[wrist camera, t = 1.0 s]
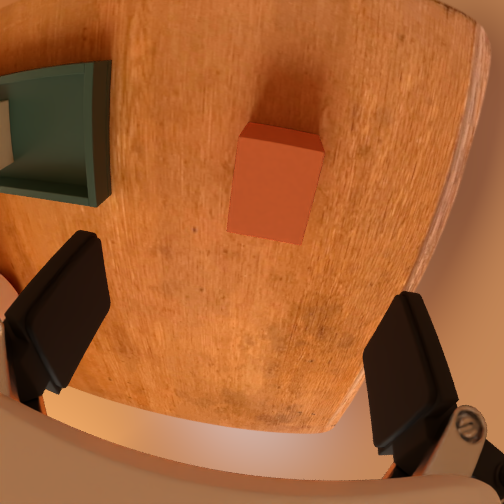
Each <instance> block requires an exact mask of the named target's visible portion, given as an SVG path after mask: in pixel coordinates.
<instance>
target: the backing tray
mask: <svg viewBox="0 0 504 504" xmlns="http://www.w3.org/2000/svg"><path fill="white" fill-rule="evenodd" d="M111 63H112V60H104V61H91V62H80V63H71V64H63V65H56V66H49V67H42V68H37V69H31V70H26V71H20V72H16V73H11V74H6V75H2V76H0V101H2V100H9V120H10V133H11V143H12V152H13V160H14V162H13V163H11V164H10V165H8V166H6V167H5V168H3V169H1V170H0V193H6V194H13V195H20V196H27V197H33V198H40V199H46V200H53V201H59V202H66V203H72V204H78V205H85V206H90V207H98V206H99V205H100V204H101V203H102V202H103V201H105V200H106V199H107V198H108V197H109V196H110V195H111V179H110V154H109V103H110V78H111Z"/></svg>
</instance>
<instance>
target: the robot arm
mask: <svg viewBox="0 0 504 504" xmlns="http://www.w3.org/2000/svg"><path fill="white" fill-rule="evenodd" d="M110 303H111V302H110V296H109V290H108V284H107V278H106V272H105V266H104V259H103V252H102V244H101V240H100V239H99V238H97V235H96V234H95V233H93V232H88V231H83V230H78V231H77V232H76V233H75V234H74V235H73V236H72V237H71V238H70V239H69V240H68V241H67V242H66V243H65V244H64V245H63V246H62V247H61V248H60V249H59V250H58V251H57V252H56V254H55V255H54V256H53V257H52V258H51V259H50V260H49V261H48V262H47V263H46V264H45V266H44V267H43V268H42V269H41V270H40V271H39V272H38V273H37V275H36V276H35V277H34V278H33V279H32V280H31V282H30V283H29V284H28V285H27V286H26V287H25V289H24V290H23V291H22V292H21V293H20V295H19V296H18V297H17V298H16V300H15V301H14V302H13V303H12V305H11V306H10V307H9V308H8V310H7V311H6V312H5V313H4V315H5V317H6V318H5V319H4V321H3V322H2V321H1V319H0V504H504V454H503V453H502V452H501V451H500V450H498V449H497V448H496V447H495V446H494V445H493V444H491V443H490V442H489V441H488V440H486V436H487V424H486V422H485V419H484V417H483V416H482V414H481V413H480V412H479V411H478V410H477V409H476V408H474V407H472V406H469V405H462V406H460V407H458V408H457V404H456V402H457V401H458V400H459V399H458V395H457V392H456V389H455V386H454V382H453V380H452V377H451V373H450V370H449V367H448V364H447V361H446V359H445V356H444V353H443V350H442V347H441V345H440V342H439V339H438V336H437V334H436V331H435V329H434V326H433V324H432V321H431V318H430V316H429V314H428V311H427V309H426V306H425V304H424V302H423V299H422V297H421V295H420V294H418V293H413V292H407V291H403V292H401V293H400V295H396V296H395V297H394V299H393V301H392V303H391V304H390V306H389V308H388V310H387V312H386V313H385V315H384V317H383V319H382V320H381V322H380V324H379V326H378V327H377V329H376V331H375V332H374V334H373V336H372V337H371V339H370V341H369V342H368V344H367V346H366V347H365V349H364V352H363V364H364V371H365V377H366V384H367V391H368V399H369V407H370V415H371V424H372V433H373V442H374V445H375V447H378V454H379V455H393V458H394V462H393V464H392V465H391V466H390V468H389V469H388V471H387V472H386V474H385V475H384V476H383V478H382V479H377V480H351V481H350V480H349V481H321V480H297V479H282V478H271V477H262V476H253V475H245V474H238V473H232V472H225V471H219V470H213V469H208V468H203V467H198V466H193V465H189V464H185V463H181V462H176V461H172V460H168V459H165V458H161V457H157V456H153V455H150V454H146V453H143V452H140V451H136V450H133V449H130V448H127V447H124V446H121V445H118V444H115V443H112V442H109V441H106V440H103V439H101V438H98V437H96V436H93V435H91V434H88V433H86V432H83V431H81V430H78V429H76V428H73V427H71V426H68V425H66V424H64V423H62V422H60V421H57V420H55V419H53V418H51V417H49V416H47V413H46V409H45V405H44V401H43V396H42V394H43V392H44V390H45V389H47V390H49V391H51V392H53V393H56V394H59V393H60V391H61V389H62V388H66V387H67V386H68V384H69V382H70V380H71V378H72V376H73V374H74V372H75V370H76V369H77V367H78V365H79V363H80V361H81V359H82V357H83V355H84V354H85V352H86V350H87V348H88V346H89V344H90V343H91V341H92V339H93V337H94V336H95V334H96V332H97V330H98V328H99V327H100V325H101V323H102V321H103V320H104V318H105V316H106V315H107V313H108V311H109V309H110Z"/></svg>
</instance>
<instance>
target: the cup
mask: <svg viewBox="0 0 504 504" xmlns="http://www.w3.org/2000/svg"><path fill="white" fill-rule="evenodd" d="M18 296H19V295H18V293H17V292H16V290H15V289H14V288H13V286H12V285H11V284H10V283H9V281H7V280H6V279H5V278H4V277H3V276H2V275H1V274H0V319H1V321H2V322H3V321H4V319H5V318H6V317H5V315H4V313H5V312H6V311H7V310H8V308H9V307H10V306H11V305H12V303H13V302H14V301H15V300H16V298H17V297H18Z"/></svg>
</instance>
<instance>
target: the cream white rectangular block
mask: <svg viewBox="0 0 504 504" xmlns="http://www.w3.org/2000/svg"><path fill="white" fill-rule="evenodd" d="M13 162H14V160H13V152H12V143H11V133H10V120H9V100H2V101H0V170H1V169H3V168H5V167H6V166H8V165H10V164H11V163H13Z"/></svg>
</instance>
